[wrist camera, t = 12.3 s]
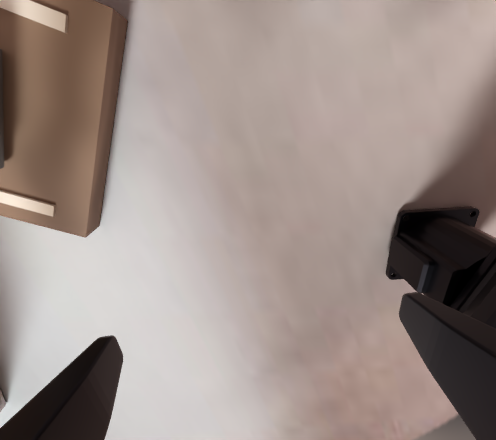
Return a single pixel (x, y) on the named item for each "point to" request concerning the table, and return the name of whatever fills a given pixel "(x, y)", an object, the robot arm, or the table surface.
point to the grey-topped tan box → (1, 114)
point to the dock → (58, 109)
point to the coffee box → (2, 401)
